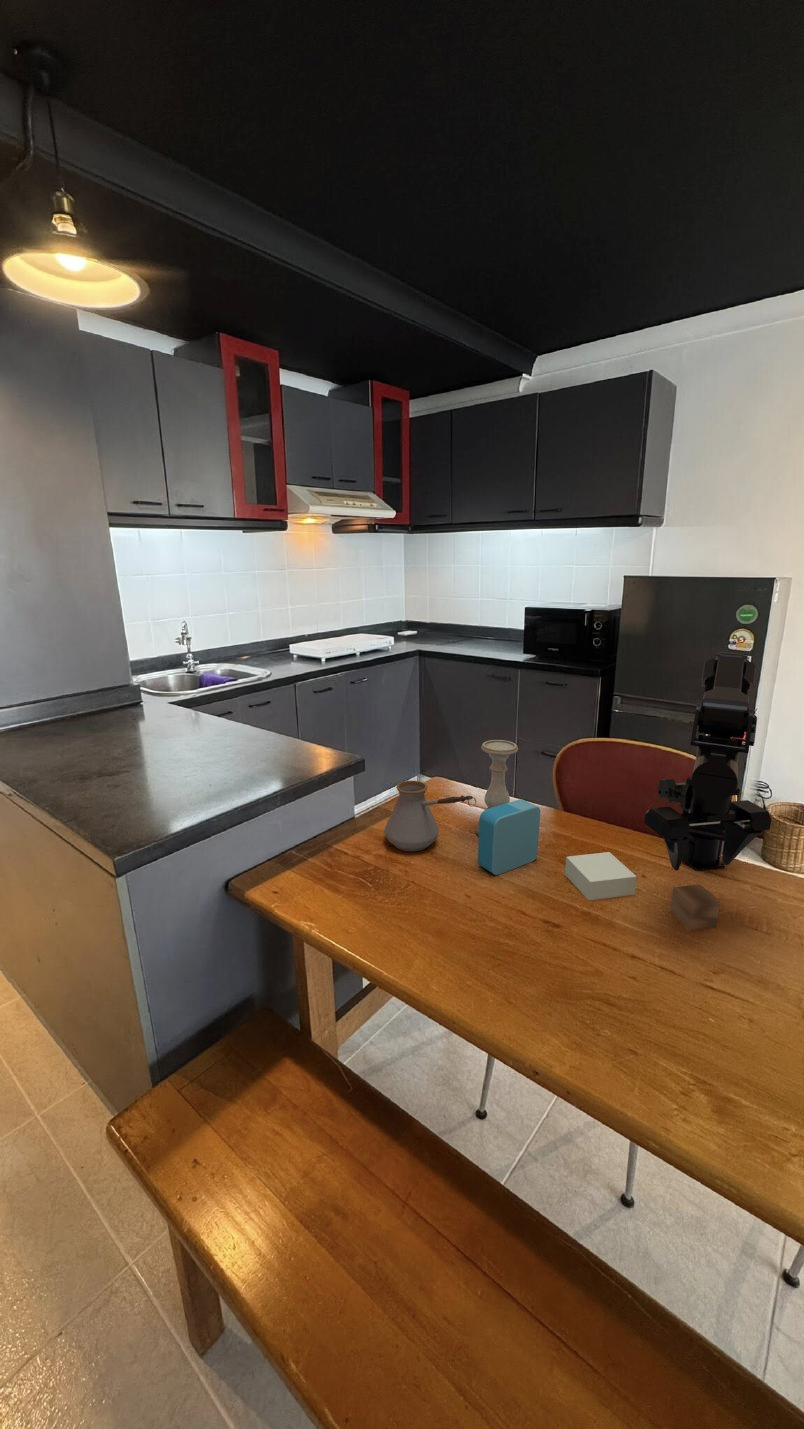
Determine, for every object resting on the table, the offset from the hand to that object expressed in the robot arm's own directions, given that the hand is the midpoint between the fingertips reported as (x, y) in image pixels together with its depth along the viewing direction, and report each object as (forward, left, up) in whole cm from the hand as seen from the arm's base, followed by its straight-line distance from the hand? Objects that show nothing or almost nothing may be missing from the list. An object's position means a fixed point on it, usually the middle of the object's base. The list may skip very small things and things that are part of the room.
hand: (700, 866), depth 95 cm
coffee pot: (+38, -31, -10) cm, 50 cm away
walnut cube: (0, 0, -10) cm, 10 cm away
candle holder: (+22, -36, -10) cm, 43 cm away
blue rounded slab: (+24, -23, -10) cm, 35 cm away
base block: (+10, -13, -10) cm, 19 cm away
